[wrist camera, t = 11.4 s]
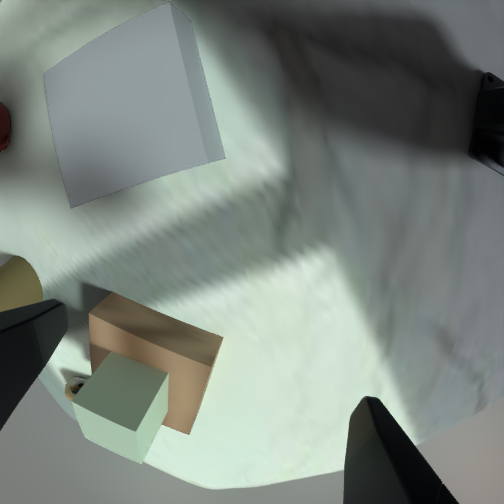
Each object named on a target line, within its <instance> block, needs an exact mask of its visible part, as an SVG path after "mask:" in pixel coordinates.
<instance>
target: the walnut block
mask: <svg viewBox="0 0 504 504" xmlns="http://www.w3.org/2000/svg"><path fill="white" fill-rule="evenodd" d="M89 339H90V357H91V370H92V374H93V373H94V372H95V370H96V369H97V368H98V367H99V365H100V364H101V363H102V362H103V361H104V359H105V358H106V357H107V356H108V354H109V353H110V352H111V351H112V352H115V353H117V354H120V355H122V356H125V357H127V358H130V359H132V360H135V361H137V362H140V363H143V364H145V365H148V366H151V367H154V368H156V369H159V370H162V371H165V372H168V373H169V380H168V412H167V414H166V416H165V418H164V420H163V422H162V425H165V426H167V427H170V428H172V429H175V430H177V431H180V432H182V433H185V434H188V435H189V434H190V432H191V429H192V427H193V424H194V421H195V419H196V416H197V414H198V411H199V409H200V406H201V403H202V400H203V397H204V394H205V391H206V388H207V385H208V382H209V379H210V376H211V373H212V370H213V367H214V364H215V361H216V358H217V355H218V352H219V349H220V346H221V343H222V340H223V337H221V336H219V335H216V334H213V333H211V332H208V331H205V330H203V329H200V328H197V327H195V326H192V325H190V324H187V323H184V322H182V321H179V320H177V319H174V318H172V317H169V316H167V315H165V314H162V313H160V312H157V311H155V310H153V309H150V308H148V307H146V306H143V305H141V304H139V303H136V302H134V301H132V300H130V299H127V298H125V297H123V296H121V295H118V294H116V293H114V292H111V293H110V294H109V295H108V296H107V297H106V298H105V299H103V300H102V301H101V302H100V303H99V304H98V305H97V306H96V307H95V308H94V309H93V310H92V311H90V312H89Z"/></svg>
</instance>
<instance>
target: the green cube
mask: <svg viewBox="0 0 504 504" xmlns="http://www.w3.org/2000/svg"><path fill="white" fill-rule="evenodd" d="M168 380H169V373H168V372H165V371H162V370H159V369H156V368H154V367H151V366H148V365H145V364H143V363H140V362H137V361H135V360H132V359H130V358H127V357H125V356H122V355H120V354H117V353H115V352H112V351H111V352H110V353H109V354H108V356H107V357H106V358H105V359H104V361H103V362H102V363H101V364H100V365H99V367H98V368H97V369H96V370H95V372H94V373H93V374H92V375H91V377H90V378H89V379H88V380H87V382H86V383H85V384H84V385H83V387H82V388H81V389H80V390H79V392H78V393H77V394H76V395H75V397H74V398H73V399H72V400H71V402H72V405H73V408H74V411H75V413H76V416H77V419H78V421H79V424H80V426H81V429H82V432H83V434H84V436H85V438H87V439H89V440H90V441H92V442H94V443H96V444H98V445H100V446H102V447H104V448H106V449H109V450H111V451H113V452H115V453H117V454H119V455H122V456H124V457H126V458H128V459H130V460H133V461H135V462H138V463H140V464H142V462H143V460H144V458H145V456H146V454H147V452H148V450H149V448H150V446H151V444H152V442H153V440H154V438H155V436H156V434H157V432H158V430H159V428H160V426H161V424H162V422H163V420H164V418H165V416H166V414H167V412H168Z"/></svg>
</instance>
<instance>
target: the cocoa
mask: <svg viewBox="0 0 504 504" xmlns="http://www.w3.org/2000/svg"><path fill="white" fill-rule="evenodd" d="M9 133H10V117H9V112H8V110H7V109H6V108H5V106H4V105H3V104H2V103H1V102H0V152H1V151H3V150H5V149H7V148H8V146H9V143H10V135H9Z"/></svg>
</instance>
